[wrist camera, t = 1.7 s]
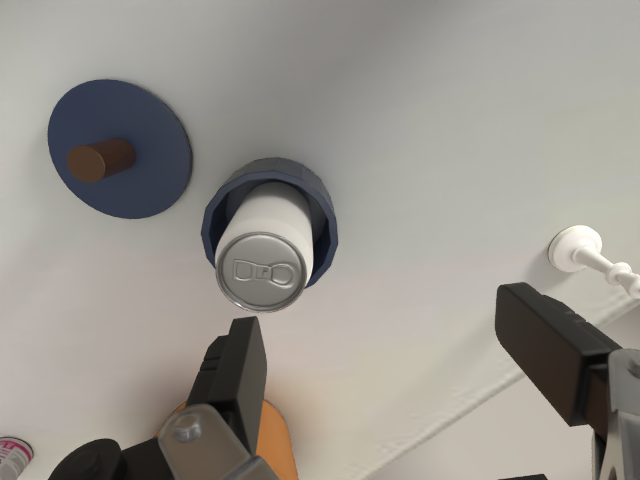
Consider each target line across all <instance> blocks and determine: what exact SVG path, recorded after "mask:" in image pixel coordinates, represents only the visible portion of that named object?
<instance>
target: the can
mask: <svg viewBox="0 0 640 480" xmlns="http://www.w3.org/2000/svg"><path fill="white" fill-rule="evenodd" d="M215 265H216V278H217V282H218V285H219V287H220V289H221V291H222V292H223V294H224V295H225V296H226V297H227V298H228V299H229V300H230V301H231V302H232V303H233V304H235V305H236V306H238V307H240V308H242V309H245V310H247V311H251V312H256V313H270V312H276V311H279V310H282V309H284V308H286V307H288V306H289V305H291V304H292V303H293V302H295V301H296V300H297V299H298V297H299V296H300V295H301V293H302V292H303V290H304V287H305V286H306V285H307V283H308V281H309V279H310V276H311V273H312V268H313V243H312V226H311V213H310V208H309V205H308V202H307V200H306V199H305V197H304V196H303V195H302V194H301V193H300V192H299V191H298V190H297V189H296V188H294V187H292V186H290V185H288V184H285V183H281V182H268V183H264V184H261V185H259V186H257V187H255V188H254V189H253V190H251V191H250V192H249V193H248V195H247V196H246V197H245V199H244V200H243V202H242V203H241V205H240V207H239V208H238V210H237V212H236V213H235V215H234V217H233V218H232V220H231V222H230V223H229V225H228V227H227V228H226V230H225V232H224V234H223V235H222V237H221V239H220V241H219V244H218V246H217V250H216V255H215Z"/></svg>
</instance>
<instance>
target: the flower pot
mask: <svg viewBox="0 0 640 480" xmlns="http://www.w3.org/2000/svg"><path fill="white" fill-rule="evenodd" d="M186 403H187V401H186V402H184V403H183V404H182V405H181V406H179V407H178V408H177V409H176V410H175V412H174V413H176V412H177V411H179V410H181V409H183V408H185V405H186ZM174 413H173V414H174ZM173 414H172V415H173ZM172 415H171V416H172ZM171 416H170V417H171ZM159 432H160V430H159V431H158V433H157V434H156V435H155V436H154V438H155V437H157V436H158V435H159ZM257 455H259V456H261V457H262V458H263V459H264V460H265V461H266V462H267V464H268V465H269V466H270V467H271V469H272V470H273V471H274V472H275V474H276V475H277V476H278V478H279V479H280V480H299V479H298V474H297V469H296V465H295V460H294V455H293V451H292V446H291V442H290V437H289V433H288V429H287V426H286V423H285V421H284V419H283V418H282V416H281V415H280V414H279V412H278V411H277V410H276V409H275V408H274V407H273V406H271V405H270V404H269V403H267V402H266V401H264V400H263V405H262V413H261V420H260V428H259V435H258V443H257V450H256V456H257Z"/></svg>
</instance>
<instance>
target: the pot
mask: <svg viewBox="0 0 640 480" xmlns="http://www.w3.org/2000/svg"><path fill="white" fill-rule="evenodd" d="M268 182H281V183H285V184H288V185H290V186H292V187H294V188H296V189H297V190H298V191H299V192H300V193H301V194H302V195H303V196H304V197H305V199H306V200H307V202H308V205H309V208H310V213H311V226H312V243H313V268H312V273H311V276H310V279H309V281H308V283H307V285H306V286H305V287H304V289H305V288H307V287H309V286H311V285H314V284H315V283H316V282H317V281H318V280H319V278H320V277H321V276H322V275H323V274H324V273H325V272H326V271H327V270H328V268H329V267H330V266H331V263H332V261H333V258H334V255H335V252H336V249H337V246H338V234H337V223H336V217H335V213H334V209H333V205H332V201H331V197H330V196H329V194H328V192H327V190H326V188H325V186H324V185H323V183H322V181H321V179H320V178H319V177H318V176H316V175H315V174H314V173H313V172H312V171H311V170H309V169H308V168H306V167H305V166H304V165H302V164H300V163H297V162H294V161H292V160H288V159H283V158H266V159H260V160H255V161H253V162H251V163H249V164H247V165H245V166H244V167H242V168H241V169H239V170H237V171H236V172H235V173H234V174H233V175H232V176H231V177H230V178H229V179H228V180H227V181H226V182H225V183H224V184H223V185H222V187H221V188H220V189H219V190H218V192H217V193H216V195H215V196H214V197H213V199H212V200H211V201H210V203H209V204H208V206H207V207H206V209H205V214H204V219H203V224H202V230H201V236H202V240H203V244H204V249H205V253H206V257H207V259H208V260H209V261H210V263H211V264H212V265H213V267H214V268H215V270H216V265H215V255H216V250H217V246H218V244H219V241H220V239H221V237H222V235H223V234H224V232H225V230H226V228H227V227H228V225H229V223H230V222H231V220H232V218H233V217H234V215H235V213H236V212H237V210H238V208H239V207H240V205H241V203H242V202H243V200H244V199H245V197H246V196H247V195H248V193H249V192H250V191H251V190H253V189H254V188H255V187H257V186H259V185H261V184H264V183H268Z"/></svg>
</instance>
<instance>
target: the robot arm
mask: <svg viewBox="0 0 640 480" xmlns="http://www.w3.org/2000/svg"><path fill="white" fill-rule="evenodd" d="M495 331H496V335H497V338H498V340H499V342H500V344H501V345H502V346H503V348H504V349H505V350H506V351H507V352H508V353H509V355H510V356H511V357H512V358H513V359H514V361H515V362H516V363H517V364H518V365H519V367H520V368H521V369H522V370H523V371H524V373H525V374H526V375H527V376H528V377H529V379H530V380H531V381H532V382H533V383H534V385H535V386H536V387H537V388H538V389H539V391H541V393H542V394H543V395H544V397H545V398H546V399H547V400H548V401H549V403H551V405H552V406H553V407H554V408H555V410H556V411H557V412H558V413H559V414H560V416H561V417H562V418H563V419H564V421H565V422H566V423H567V424H568V425H569V426H570V427H572V426H579V425H587V424H589V425H590V426H591V427H592V428H593V429H594V430H593V435H592V480H640V350H637V349H623V348H622V347H621V346H619V345H618V344H617V343H615V342H614V341H613V340H612V339H610V338H609V337H608V336H606V335H605V334H603V333H602V332H601V331H600V330H598V329H597V328H596V327H594V326H593V325H592V324H590V323H589V322H586V320H585V319H584V318H582V317H581V316H580V315H578V314H575V312H574V311H573V310H572V309H570V308H569V307H568V306H566V305H565V304H564V303H562V302H560V301H558V300H556V299H553V298H551V297H549V296H546V295H541V294H540V293H539V292H537V291H536V290H535V289H534V288H532V287H531V286H530V285H529V284H527V283H525V282H520V283H512V284H505V285H500V286H499V287H498V289H497V298H496V314H495ZM266 375H267V361H266V354H265V349H264V344H263V339H262V335H261V330H260V325H259V321H258V318H257V316H253V317H245V318H237V319H234V320H233V322H232V325H231V328H230V331H229V334H228V335H225V336H218V337H217V339H216V340H215V341H214V342H213V343H212V344H211V345H210V346H209V347H208V349H207V352H206V354H205V357H204V361H203V362H202V365H201V367H200V371H199V372H198V375H197V377H196V380H195V382H194V385H193V388H192V390H191V393H190V395H189V398H188V400H187V403H186V405H185V408H183V409H181V410H179V411H177V412H176V413H174V414H173V415H172V416H171V417H170V418H169V419H168V420H167V421H166V422H165V423H164V424H163V426H162V428H161V429H160V432H159V435H158V436H157V437H155V438H152V439H150V440H148V441H145V442H143V443H140V444H138V445H135V446H132V447H130V448H127V449H125V450H122V451H121V449H120V446H119V444H118V443H117V442H116V441H115V440H112V439H98V440H94V441H91V442H89V443H87V444H84V445H82V446H81V447H79V448H77V449H76V450H74V451H73V452H71V453H70V454H69V455H68V456H66V457H65V458H64V459H63V460H62V461H61V462H60V463H59V464H58V466H57V467H56V468H55V469H54V471H53V472H52V474H51V475H50V477H49V479H48V480H280V479H279V478H278V476H277V475H276V474H275V472H274V471H273V470H272V469H271V467H270V466H269V465H268V464H267V462H266V461H265V460H264V459H263V458H262V457H261V456H259V455H257V456H256V450H257V443H258V435H259V428H260V420H261V413H262V405H263V398H264V390H265V383H266ZM499 480H548V479H547V478H546V476H545V475H544V474H538V475H530V476H523V477H515V478H508V479H499Z"/></svg>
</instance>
